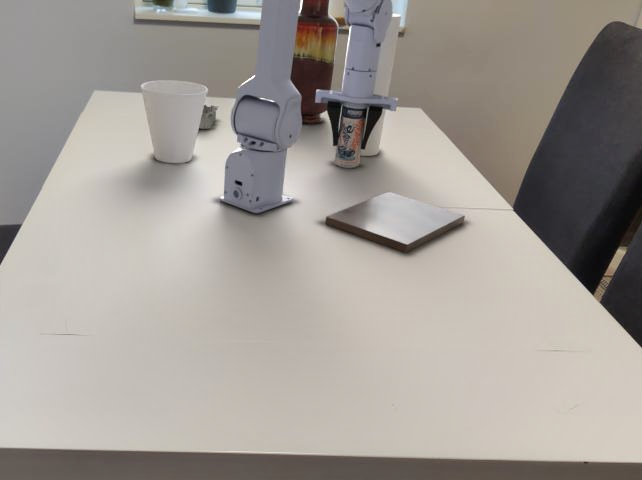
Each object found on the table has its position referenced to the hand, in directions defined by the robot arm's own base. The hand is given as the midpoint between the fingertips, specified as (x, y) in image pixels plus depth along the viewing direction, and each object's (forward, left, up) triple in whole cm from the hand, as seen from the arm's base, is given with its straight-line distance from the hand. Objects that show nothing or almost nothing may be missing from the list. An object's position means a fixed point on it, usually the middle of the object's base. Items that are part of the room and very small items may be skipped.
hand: (349, 146), depth 132 cm
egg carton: (-1, +38, -4) cm, 38 cm away
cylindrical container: (+11, +4, -4) cm, 12 cm away
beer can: (0, 0, -4) cm, 4 cm away
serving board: (-19, -22, -4) cm, 29 cm away
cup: (-23, +23, -4) cm, 33 cm away
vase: (+22, +27, -4) cm, 35 cm away
